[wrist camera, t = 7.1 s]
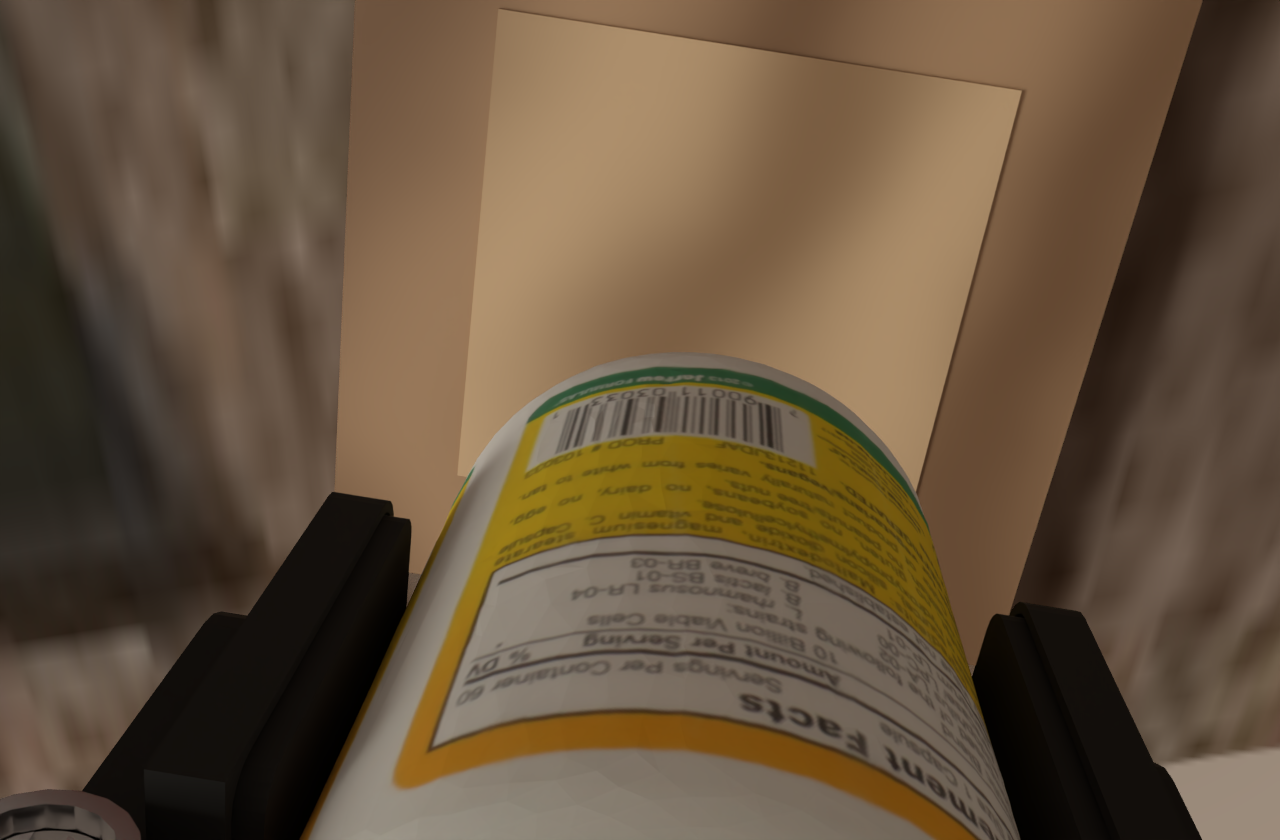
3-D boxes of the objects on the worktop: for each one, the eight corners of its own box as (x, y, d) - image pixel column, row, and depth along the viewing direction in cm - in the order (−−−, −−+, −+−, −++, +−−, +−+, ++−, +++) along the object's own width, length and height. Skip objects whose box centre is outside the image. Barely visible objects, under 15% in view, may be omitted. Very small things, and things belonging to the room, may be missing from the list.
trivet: (1185, -48, 21) (1218, -43, 19) (979, 628, 27) (993, 670, 25) (387, -171, 21) (361, -176, 20) (353, 525, 27) (330, 561, 25)
